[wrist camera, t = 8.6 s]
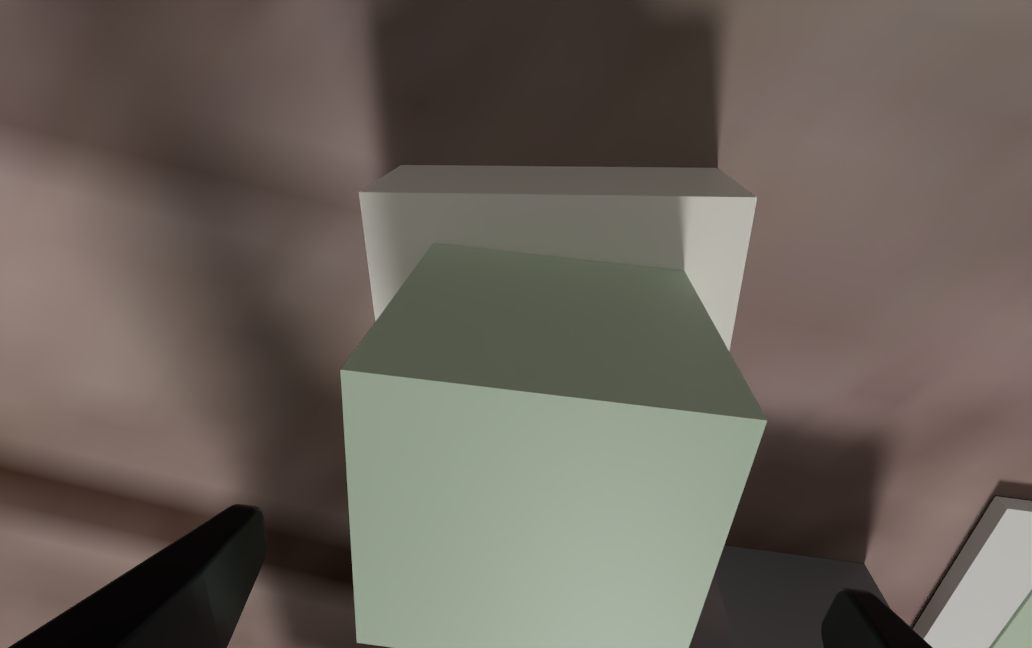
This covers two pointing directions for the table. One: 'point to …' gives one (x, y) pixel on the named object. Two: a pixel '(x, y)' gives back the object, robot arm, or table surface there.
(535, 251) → the base block
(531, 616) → the sage block
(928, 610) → the tile
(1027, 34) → the table surface
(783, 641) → the charcoal block
